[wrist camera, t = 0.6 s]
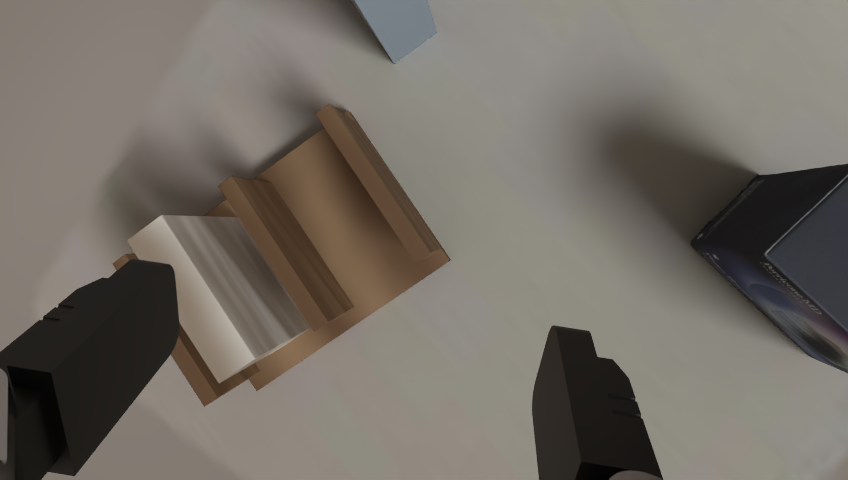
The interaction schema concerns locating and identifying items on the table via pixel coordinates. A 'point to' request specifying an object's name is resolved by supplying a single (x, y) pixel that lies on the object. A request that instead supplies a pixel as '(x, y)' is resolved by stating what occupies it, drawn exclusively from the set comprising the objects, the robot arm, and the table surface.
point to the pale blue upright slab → (398, 24)
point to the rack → (288, 259)
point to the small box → (790, 255)
